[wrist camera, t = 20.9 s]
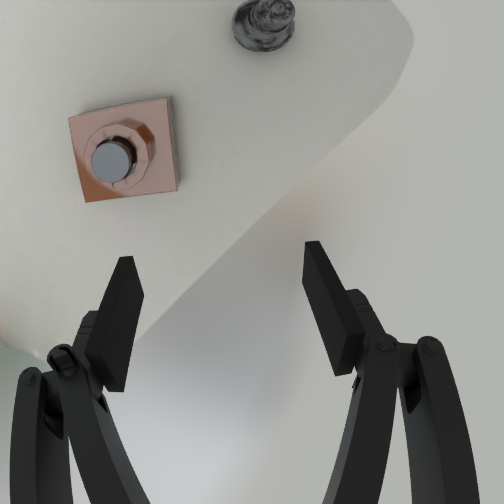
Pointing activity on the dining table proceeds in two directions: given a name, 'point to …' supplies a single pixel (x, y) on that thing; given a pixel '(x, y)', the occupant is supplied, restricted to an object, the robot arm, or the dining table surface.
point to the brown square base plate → (141, 140)
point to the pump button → (113, 160)
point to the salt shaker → (264, 24)
